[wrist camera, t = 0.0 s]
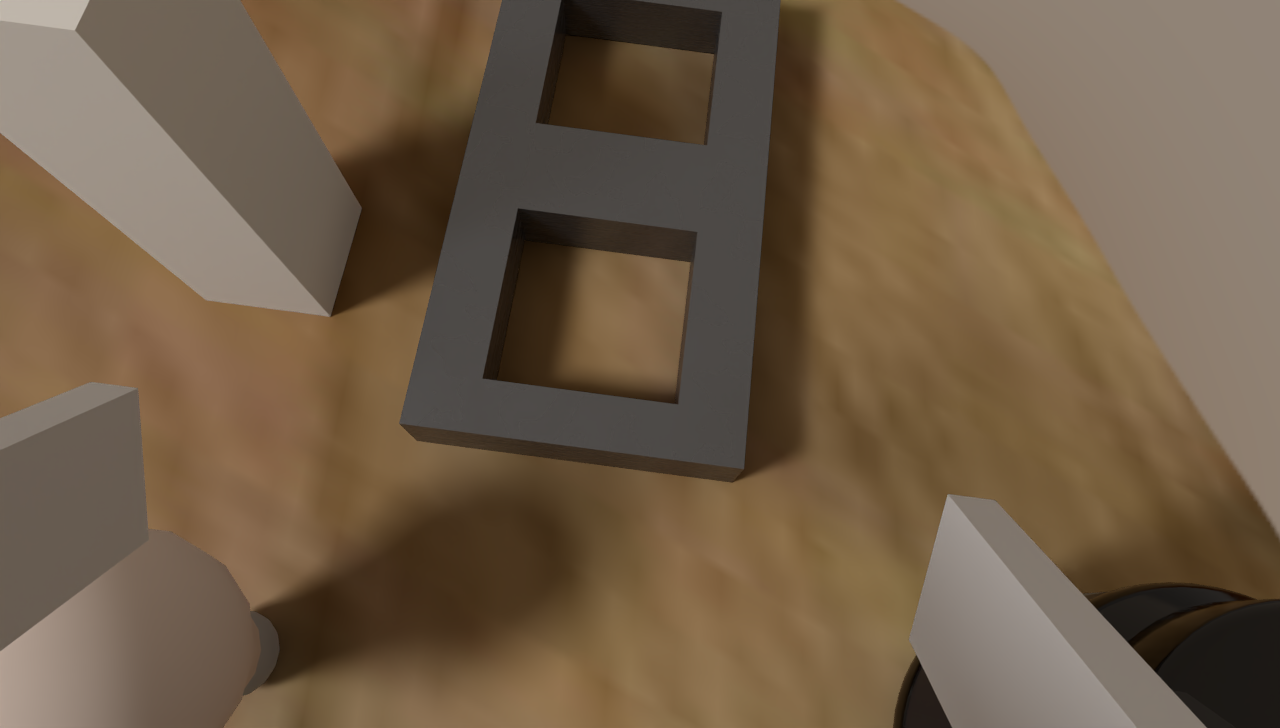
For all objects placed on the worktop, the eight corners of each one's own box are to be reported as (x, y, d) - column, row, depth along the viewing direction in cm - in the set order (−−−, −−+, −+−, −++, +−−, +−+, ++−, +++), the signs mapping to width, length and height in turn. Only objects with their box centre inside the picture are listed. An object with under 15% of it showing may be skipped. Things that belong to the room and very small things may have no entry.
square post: (330, 316, 29) (74, 30, 15) (206, 300, 29) (-165, -2, 15) (362, 208, 31) (158, -140, 17) (244, 192, 31) (-58, -168, 17)
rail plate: (732, 482, 28) (744, 469, 25) (416, 440, 28) (399, 423, 26) (769, 27, 35) (781, -16, 33) (520, -6, 35) (514, -51, 33)
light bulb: (308, 520, 27) (119, 453, 16) (375, 696, 25) (209, 746, 15) (123, 609, 25) (-210, 598, 15) (178, 802, 24) (-156, 939, 13)
